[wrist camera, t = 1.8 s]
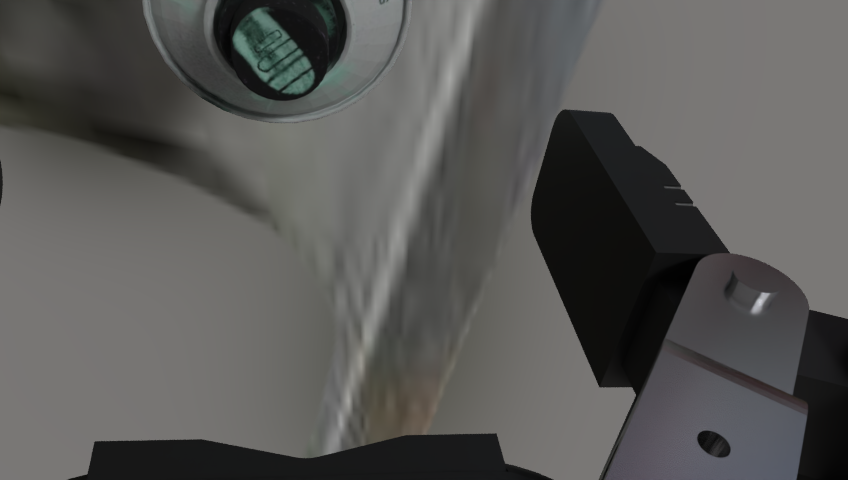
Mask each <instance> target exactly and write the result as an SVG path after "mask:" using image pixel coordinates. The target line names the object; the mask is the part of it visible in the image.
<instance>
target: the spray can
mask: <svg viewBox="0 0 848 480" xmlns="http://www.w3.org/2000/svg"><path fill="white" fill-rule="evenodd" d="M142 5H143V13H144V17H145V20H146V23H147V26H148V29H149V32H150V35H151V38H152V40H153V42H154V44H155V46H156V47H157V49H158V51H159V52H160V54H161V56H162V58H163V59H164V61H165V63H166V64H167V65H168V66H169V67H170V69H171V70H172V71H173V72H174V73H175V74H176V76H177V77H178V78H179V79H180V80H181V81H182V82H183V83H184V84H185V85H186V86H188V87H189V88H190V89H191V90H192V91H194V92H195V93H196V94H197V95H199V96H200V97H201V98H202V99H204V100H206V101H208V102H210V103H211V104H213V105H215V106H217V107H218V108H220V109H222V110H224V111H227V112H230V113H232V114H235V115H238V116H241V117H244V118H246V119H252V120H257V121H263V122H269V123H298V122H304V121H310V120H316V119H320V118H323V117H325V116H328V115H331V114H334V113H337V112H339V111H342V110H343V109H345V108H347V107H348V106H350V105H352V104H354V103H355V102H357V101H359V100H361V99H362V98H363V97H364V96H365V95H366V94H368V93H369V92H370V91H371V90H372V89H374V88H375V87H376V86H377V85H378V84H379V83H380V82H381V80H382V79H383V78H384V77H385V75H386V74H387V73H388V72H389V70H390V69H391V68H392V67H393V65H394V63H395V61H396V59H397V57H398V55H399V53H400V51H401V49H402V47H403V45H404V42H405V39H406V35H407V32H408V28H409V25H410V18H411V6H412V0H142Z"/></svg>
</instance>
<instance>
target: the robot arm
mask: <svg viewBox="0 0 848 480" xmlns="http://www.w3.org/2000/svg"><path fill="white" fill-rule="evenodd" d="M2 186H3V181H2V168H1V162H0V204H1V198H2ZM531 224H532V230H533V233H534V236H535V238H536V241H537V243H538V246H539V248H540V250H541V253H542V255H543V257H544V260H545V262H546V264H547V266H548V269H549V271H550V273H551V276H552V278H553V280H554V283H555V285H556V287H557V289H558V292H559V294H560V297H561V299H562V301H563V304H564V306H565V308H566V311H567V313H568V315H569V317H570V320H571V322H572V324H573V327H574V329H575V332H576V334H577V336H578V338H579V341H580V343H581V345H582V348H583V350H584V352H585V355H586V357H587V359H588V362H589V364H590V366H591V369H592V371H593V373H594V376H595V378H596V380H597V383H598V385H599V387H632V388H633V390H634V392H635V394H636V397H635V399H634V402H633V403H632V405H631V408H630V410H629V412H628V414H627V416H626V419H625V421H624V423H623V426H622V428H621V430H620V432H619V435H618V437H617V439H616V441H615V444H614V446H613V448H612V450H611V453H610V455H609V457H608V460H607V462H606V464H605V466H604V469H603V471H602V473H601V475H600V478H599V480H848V319H845V318H841V317H837V316H833V315H829V314H825V313H821V312H817V311H813V310H809V304H808V301H807V298H806V296H805V295H804V293H803V292H802V290H801V289H800V288H799V287H798V286H797V285H796V284H795V282H793V281H792V280H791V279H790V278H789V277H788V276H786V275H785V274H783V273H782V272H780V271H779V270H777V269H775V268H774V267H772V266H770V265H768V264H766V263H763V262H761V261H759V260H756V259H753V258H750V257H747V256H743V255H738V254H731V253H730V252H729V251H728V249H727V248H726V247H725V245H724V244H723V243H722V241H721V240H720V238H719V237H718V236H717V234H716V233H715V232H714V230H713V229H712V228H711V226H710V225H709V223H708V222H707V221H706V219H705V218H704V217H703V215H702V214H701V213H700V211H699V210H698V208H697V207H694V206H693V201H692V200H691V199H690V197H689V196H688V195H687V193H686V192H685V190H681V185H680V184H679V182H678V181H677V180H676V178H675V177H674V175H673V174H672V173H671V171H670V170H669V169H668V168H667V166H666V165H665V164H664V163H663V162H661V161H660V160H658V159H657V158H656V157H654V156H653V155H652V154H650V153H649V152H648V151H646V150H645V149H644V148H642V147H641V146H635V145H634V143H633V142H632V140H631V139H630V137H629V136H628V135H627V133H626V132H625V130H624V129H623V127H622V126H621V124H620V123H619V122H618V120H617V119H616V117H615V116H614V115H613V114H611V113H605V112H592V111H578V110H562V111H561V112H560V113H559V114H558V116H557V117H556V120H555V122H554V125H553V128H552V131H551V135H550V138H549V142H548V145H547V149H546V152H545V156H544V159H543V162H542V166H541V170H540V173H539V176H538V180H537V183H536V187H535V190H534V194H533V198H532V206H531ZM68 480H553V479H551V478H548V477H546V476H543V475H541V474H539V473H536V472H533V471H530V470H527V469H523V468H520V467H517V466H514V465H509V464H505V462H504V459H503V455H502V452H501V448H500V445H499V441H498V437H497V434H455V435H454V434H452V435H405V436H401V437H397V438H393V439H389V440H385V441H381V442H377V443H373V444H369V445H365V446H361V447H357V448H353V449H349V450H345V451H340V452H336V453H332V454H328V455H324V456H320V457H315V458H296V457H291V456H286V455H280V454H275V453H270V452H264V451H260V450H254V449H249V448H243V447H239V446H233V445H228V444H223V443H218V442H213V441H207V440H202V439H200V440H148V441H97V442H94V447H93V452H92V457H91V461H90V466H89V471H88V474H87V475H83V476H79V477H75V478H71V479H68Z"/></svg>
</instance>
